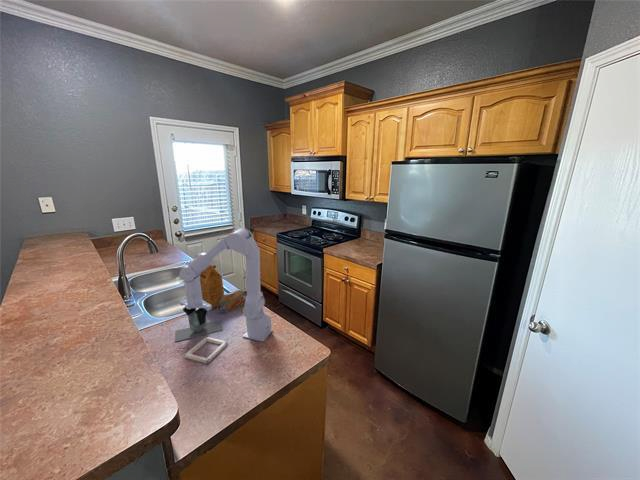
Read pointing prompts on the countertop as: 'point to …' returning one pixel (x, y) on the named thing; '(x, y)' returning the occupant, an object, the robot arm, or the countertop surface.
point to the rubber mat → (188, 334)
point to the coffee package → (211, 285)
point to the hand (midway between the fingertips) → (198, 322)
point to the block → (195, 322)
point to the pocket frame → (199, 358)
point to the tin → (231, 301)
